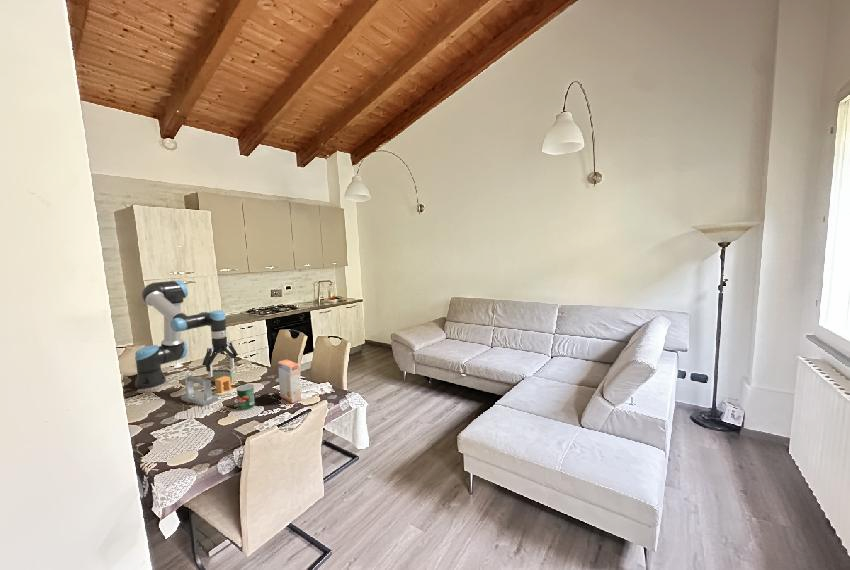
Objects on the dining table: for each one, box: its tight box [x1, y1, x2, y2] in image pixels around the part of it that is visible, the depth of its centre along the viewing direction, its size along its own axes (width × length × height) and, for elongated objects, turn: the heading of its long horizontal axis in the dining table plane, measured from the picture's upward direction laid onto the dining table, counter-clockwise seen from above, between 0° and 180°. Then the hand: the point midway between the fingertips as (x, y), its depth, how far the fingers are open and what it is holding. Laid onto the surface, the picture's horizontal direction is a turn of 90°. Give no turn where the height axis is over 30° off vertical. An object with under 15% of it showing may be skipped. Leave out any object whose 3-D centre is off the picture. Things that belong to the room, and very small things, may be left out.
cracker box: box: [277, 359, 302, 404], centre depth 192 cm, size 14×6×21 cm, turn 48°
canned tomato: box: [236, 384, 256, 412], centre depth 183 cm, size 8×8×11 cm
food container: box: [212, 365, 234, 386], centre depth 216 cm, size 12×6×10 cm, turn 84°
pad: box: [212, 386, 237, 397], centre depth 204 cm, size 10×10×1 cm
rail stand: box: [180, 375, 219, 407], centre depth 192 cm, size 20×8×12 cm, turn 65°
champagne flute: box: [171, 360, 184, 369], centre depth 246 cm, size 7×7×24 cm
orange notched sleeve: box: [214, 376, 232, 393], centre depth 203 cm, size 5×6×8 cm
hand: (221, 372), depth 202 cm, fingers open, 13 cm apart
